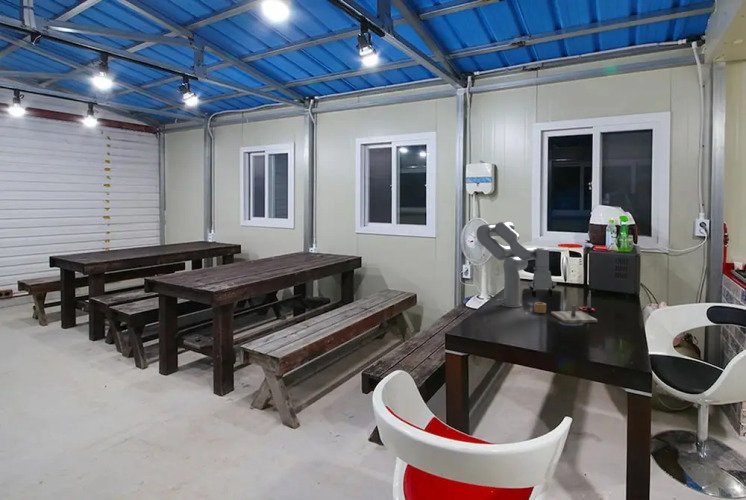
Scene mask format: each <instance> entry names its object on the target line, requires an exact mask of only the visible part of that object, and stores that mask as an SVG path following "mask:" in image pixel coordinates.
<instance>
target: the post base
mask: <svg viewBox="0 0 746 500" xmlns="http://www.w3.org/2000/svg"><path fill="white" fill-rule="evenodd" d="M550 315H551V316H553V317H554V318H557V319H558V320H560V321H561V322H563V323H564V324H579V323H583V324H584V323H586V324H587V323H598V319H597V318H595V317H593V316H591V315H589V314H588V313H585V311H583V310H577V305H576V304H572V305H571V311H570V310H568V311H566V310H565V311H564V310H563V311H550Z"/></svg>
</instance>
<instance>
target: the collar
mask: <svg viewBox="0 0 746 500" xmlns="http://www.w3.org/2000/svg"><path fill="white" fill-rule="evenodd" d="M533 311H534V313H538V314H539V313H540V314H545V313H546V312H547V303H545V302H541V301H537V302H536V301H535V302H534V310H533Z"/></svg>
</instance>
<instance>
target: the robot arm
mask: <svg viewBox="0 0 746 500" xmlns="http://www.w3.org/2000/svg"><path fill="white" fill-rule="evenodd" d="M494 237H500V238H501V239H502V240H503V241H504V242H506V243H507V244H508V245H507V244H506V245H503V244H501V243H500V242H498V240H496V239H495V238H494ZM476 238H477V240H478V242H479V244H481V246H483V247H484V248H485V249H486V250H487V251H488V252H489V253H490V254H492V256H493V257H495V259H497V260H498V261H503V263H502V264H503V265H502V267H503V271H504V272H503V274H504V281H503V282H504V285H503V286H504V289H503V290H504V292H503V297H502V298H500V299H499V298H496V299H495V300H496V303H501V306H503V307H506V308H521V307H523V306H522V305H523V304H522V303H521V302H520V297H521V296H520V295H521V292H520V291H521V277H520V273H519V271H520V272H521V271H523V270H525V269H527V267H528V265H529V261H531V260H532V261H533V260H535V265H534V267H533V268H532V269H533V270H534V271H533V275H532V276H533V277H532V281H530V282H528V283H527V286H528V289H530V290H531V296H532V298H536V297H537V291H536V290H537V289H548V290H547V291H548V292H547V293H548V295H547V296H548V297H550V298H552V296H553V291H554V289H555V287H556V286H557V282H555V281H553V280H552V272H551V271H550V249H548V248H543V247H542V248H539V247H532V246H530V247H525V246H523V245H522V243H520V241H519V240H520V234H519V233H518V232H516V231H515V226H514V224H513V223H512V222H510V221H502V222H501V221H500V222H498V223H490V224H489V223H488V224H486V223H485V224H482V225H480V226H478V227H477V229H476ZM532 285H533V286H532Z"/></svg>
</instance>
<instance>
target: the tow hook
mask: <svg viewBox="0 0 746 500" xmlns="http://www.w3.org/2000/svg"><path fill="white" fill-rule="evenodd" d="M591 291H592V290H588V299H587V300H588V303H587V306H579V307H578V309H579V311H582V312H589V313H591V312H593V313H594V312H595V313H596V309H595V308H593V307H591V306H592V304H591V303H592V301H591V299H592V294H591ZM583 308H585V309H583Z"/></svg>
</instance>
